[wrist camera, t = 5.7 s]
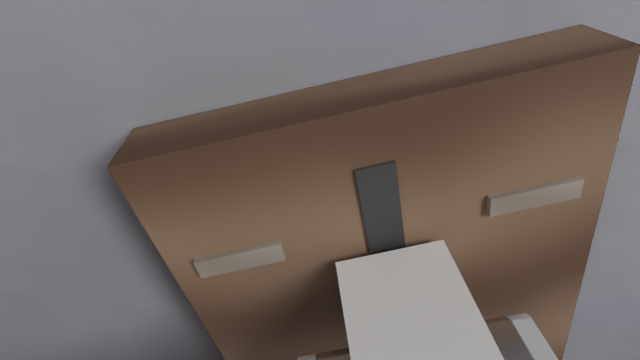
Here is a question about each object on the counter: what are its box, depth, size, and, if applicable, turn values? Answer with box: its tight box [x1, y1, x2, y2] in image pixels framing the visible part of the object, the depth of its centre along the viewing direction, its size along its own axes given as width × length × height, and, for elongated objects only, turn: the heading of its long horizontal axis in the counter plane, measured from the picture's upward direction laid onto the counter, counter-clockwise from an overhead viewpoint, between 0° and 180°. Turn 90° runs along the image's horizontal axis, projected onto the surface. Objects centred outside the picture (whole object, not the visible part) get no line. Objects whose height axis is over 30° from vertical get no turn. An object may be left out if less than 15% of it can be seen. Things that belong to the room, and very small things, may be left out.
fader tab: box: [335, 240, 504, 360], centre depth 10 cm, size 4×3×4 cm
